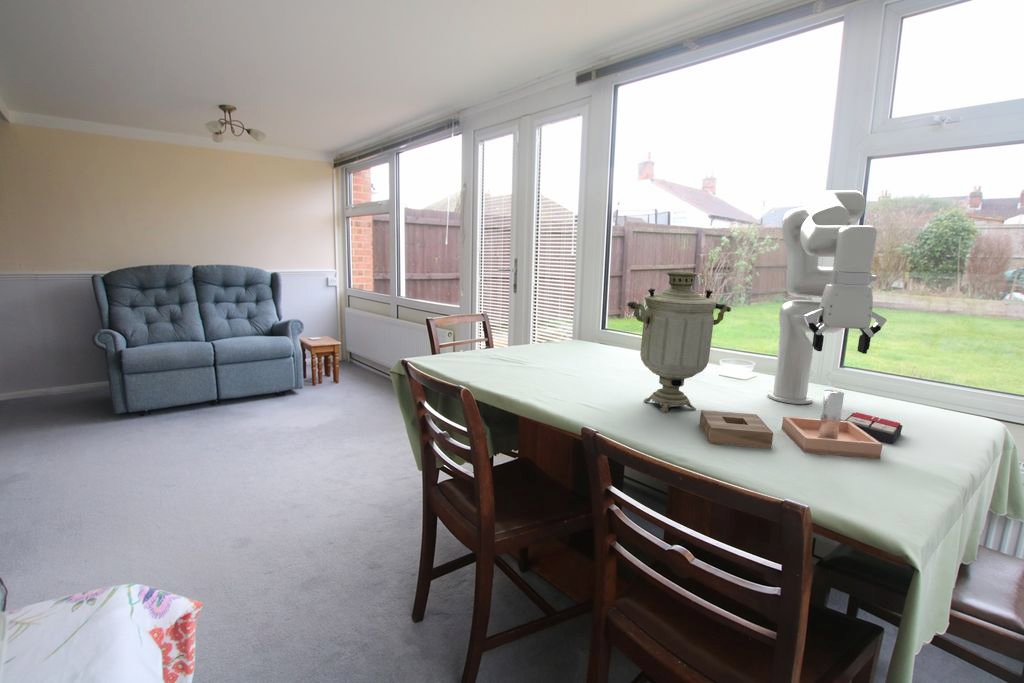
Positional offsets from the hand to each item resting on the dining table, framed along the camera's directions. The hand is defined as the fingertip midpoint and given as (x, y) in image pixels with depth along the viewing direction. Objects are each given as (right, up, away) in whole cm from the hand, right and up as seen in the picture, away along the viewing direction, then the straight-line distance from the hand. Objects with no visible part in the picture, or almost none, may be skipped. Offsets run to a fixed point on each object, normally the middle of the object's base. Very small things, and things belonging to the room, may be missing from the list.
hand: (839, 351), depth 120 cm
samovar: (-30, -17, +34) cm, 48 cm away
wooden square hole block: (-22, -22, +7) cm, 32 cm away
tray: (-1, -23, +4) cm, 23 cm away
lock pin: (-1, -22, +4) cm, 22 cm away
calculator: (+14, -22, +13) cm, 29 cm away
